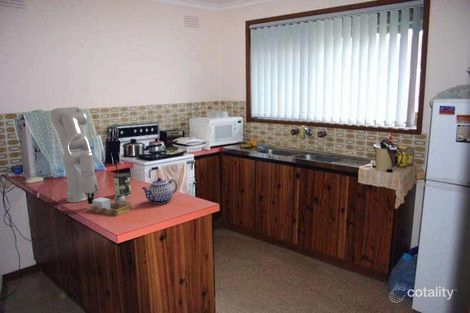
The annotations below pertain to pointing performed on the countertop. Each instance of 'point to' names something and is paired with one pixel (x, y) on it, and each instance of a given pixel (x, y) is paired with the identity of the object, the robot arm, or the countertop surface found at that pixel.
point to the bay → (121, 206)
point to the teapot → (160, 191)
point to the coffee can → (122, 183)
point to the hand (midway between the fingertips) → (91, 203)
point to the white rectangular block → (102, 202)
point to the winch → (121, 200)
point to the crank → (125, 190)
